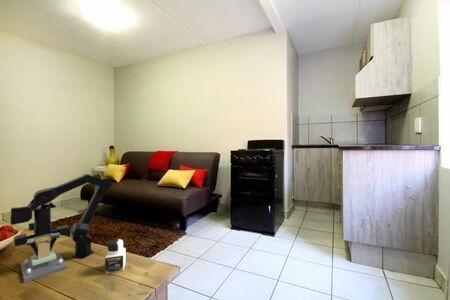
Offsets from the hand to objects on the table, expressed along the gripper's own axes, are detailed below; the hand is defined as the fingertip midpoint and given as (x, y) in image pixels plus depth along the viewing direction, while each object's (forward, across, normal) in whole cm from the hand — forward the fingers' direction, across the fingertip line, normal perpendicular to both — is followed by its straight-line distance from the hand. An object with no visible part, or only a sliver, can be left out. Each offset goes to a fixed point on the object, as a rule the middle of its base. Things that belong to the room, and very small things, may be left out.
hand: (43, 253), depth 98 cm
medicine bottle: (+6, -22, +24) cm, 33 cm away
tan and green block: (+2, 0, 0) cm, 2 cm away
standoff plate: (+6, 0, 0) cm, 6 cm away
